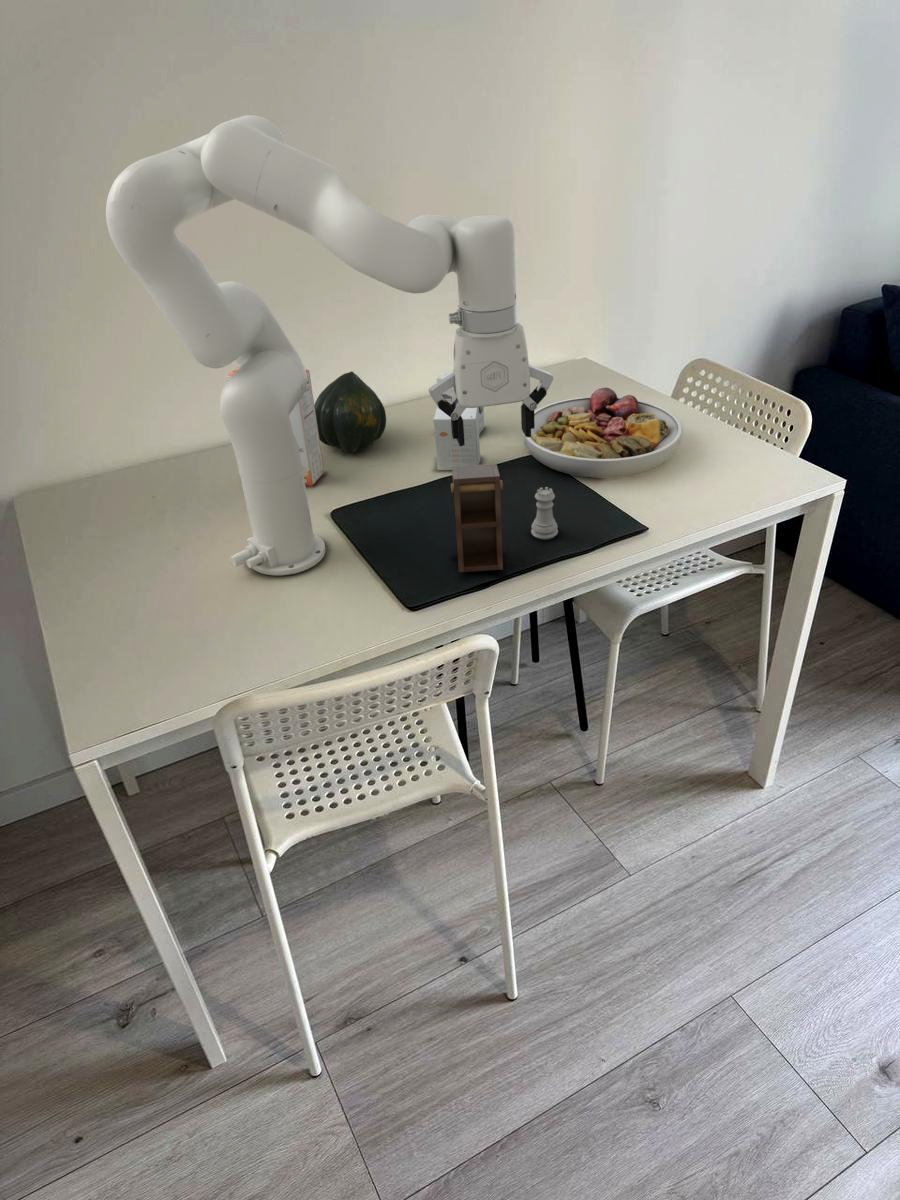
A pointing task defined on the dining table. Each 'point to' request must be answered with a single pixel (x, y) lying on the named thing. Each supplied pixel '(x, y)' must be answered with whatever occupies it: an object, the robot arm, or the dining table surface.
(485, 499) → the brown wooden shelf box
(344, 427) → the squash
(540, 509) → the rook chess piece
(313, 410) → the cracker box
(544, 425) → the bowl
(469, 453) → the small box
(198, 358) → the robot arm
